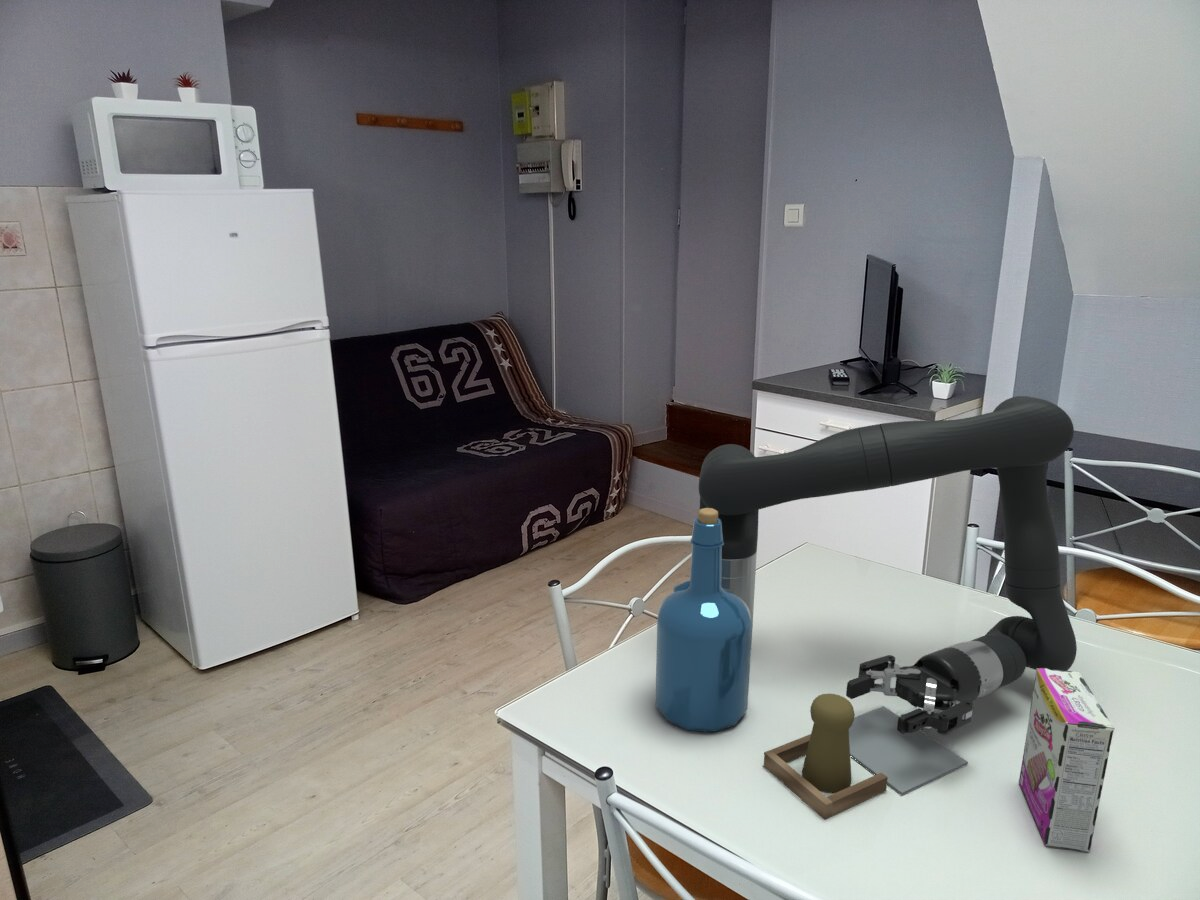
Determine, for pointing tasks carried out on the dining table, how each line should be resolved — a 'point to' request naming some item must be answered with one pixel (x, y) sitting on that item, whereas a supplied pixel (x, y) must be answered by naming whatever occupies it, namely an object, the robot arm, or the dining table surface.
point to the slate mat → (899, 751)
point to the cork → (829, 744)
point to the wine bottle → (703, 641)
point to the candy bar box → (1065, 758)
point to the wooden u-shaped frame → (811, 795)
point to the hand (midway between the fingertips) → (873, 708)
